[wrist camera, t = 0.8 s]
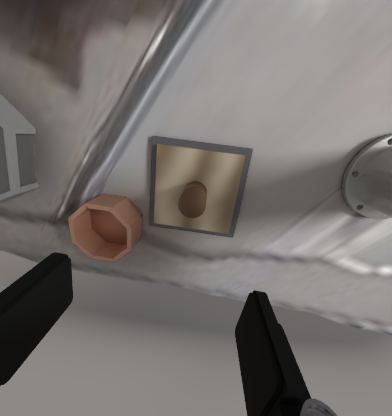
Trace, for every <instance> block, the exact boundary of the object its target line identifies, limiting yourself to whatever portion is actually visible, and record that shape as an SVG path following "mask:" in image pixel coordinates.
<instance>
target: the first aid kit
mask: <svg viewBox="0 0 392 416" xmlns="http://www.w3.org/2000/svg"><path fill="white" fill-rule="evenodd" d="M34 134H36V128H34V127H33V126H32V125H31V124H30V123H29V122H28V121H27V120H26V119H25V118H24V117H23V116H22V115H21V114H20V113H19V112H18V111H17V110H16V109H15V108H14V107H13V106H12V105H11V104H10V103H9V102H8V101H7V100H6V99H5V98H4V97H3V96H2V95H1V94H0V203H1V202H4V201H7V200H9V199H12V198H14V197H17V196H19V195H22V194H24V193H27V192H29V191H31V190H34V189H36V188H39V183H38V182H37V180H36V163H35V146H34Z"/></svg>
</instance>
